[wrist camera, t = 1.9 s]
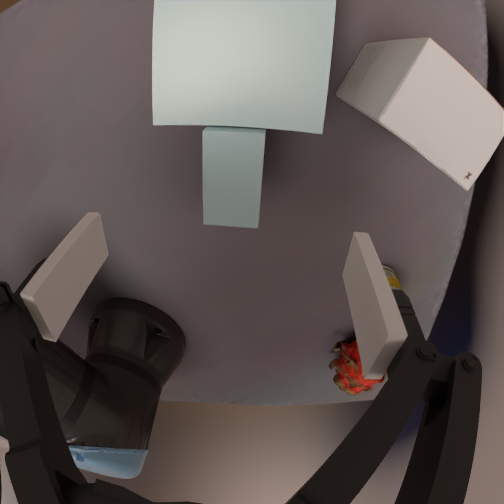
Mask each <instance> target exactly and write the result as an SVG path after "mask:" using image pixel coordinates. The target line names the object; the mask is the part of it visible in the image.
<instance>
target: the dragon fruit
mask: <svg viewBox="0 0 504 504" xmlns="http://www.w3.org/2000/svg"><path fill="white" fill-rule="evenodd" d="M355 335H356V334H354V336H353V338H354V337H356V336H355ZM333 351H339V352H340V356H341V359H335V360H333V361H331V363H330V364H329V368H330V369H332V367H333V368H335V369H336V370H335V371H336V373H337V372H338V373H337V374H336V375H335V376H334V378H333V380H334V382H335V384H336V385H338V386H339V389H341V390H343V391H346V392H347V393H348V394H349V395H353V394H354V395H357V394H359V393H360V392H361V391H366V392H367V391H372V386H373V385H374V384H376V383H381V382H383V381H384V379H385V378H386V374H387V371H386V372H385V374H384V375H383V377H382V378H381V379H364V376H363V371H362V365H361V360H360V355H359V349H358V344H357V339H356V340H355V341H353V342H352V343H351V344H348V343H347V342H344V341H343V342H338V343H337V344H336V345H335V347H334V348H333Z"/></svg>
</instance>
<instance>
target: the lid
mask: <svg viewBox="0 0 504 504" xmlns="http://www.w3.org/2000/svg"><path fill="white" fill-rule="evenodd" d="M335 9H336V0H154V17H153V46H152V103H153V125H207V126H206V128H205V129H204V130H203V224H204V225H218V226H232V227H245V228H258V224H259V211H260V198H261V185H262V172H263V159H264V146H265V133H266V128H267V129H279V130H290V131H299V132H308V133H317V134H322V132H323V125H324V117H325V109H326V101H327V92H328V83H329V74H330V65H331V55H332V45H333V34H334V22H335Z"/></svg>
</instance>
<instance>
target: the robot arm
mask: <svg viewBox="0 0 504 504" xmlns="http://www.w3.org/2000/svg"><path fill="white" fill-rule="evenodd" d="M108 255H109V253H108V249H107V244H106V240H105V235H104V231H103V226H102V221H101V216H100V213H99V212H88V213H87V214H86V215H85V216H84V217H83V218H82V219H81V220H80V221H79V223H78V224H77V225H76V226H75V227H74V228H73V229H72V230H71V231H70V233H69V234H68V235H67V236H66V237H65V238H64V239H63V241H62V242H61V243H60V244H59V245H58V246H57V248H56V249H55V250H54V251H53V252H52V254H51V255H50V256H49V257H48V258H45V259H43V260H42V261H41V262H39V263H38V264H37V265H36V266H35V267H34V269H33V270H32V271H31V273H30V274H29V275H28V276H27V278H26V279H25V280H24V281H23V283H22V284H21V285H20V286H19V288H18V289H17V290H16V292H15V293H14V294H13V293H12V291H11V289H10V286H9V284H8V283H7V282H2V281H1V282H0V465H1V463H2V462H3V459H4V458H5V462H6V466H7V469H8V473H9V476H10V479H11V483H12V486H13V489H14V492H15V495H16V498H17V501H18V504H200V503H193V502H160V503H158V502H157V503H155V502H152V501H149V500H147V499H145V498H143V497H141V496H139V495H137V494H136V493H134V492H132V491H130V490H128V489H126V488H125V487H122V486H118V485H115V484H111V483H108V482H105V481H102V480H99V479H96V482H95V483H87V481H86V479H85V477H84V476H83V475H82V473H81V472H80V471H79V469H78V468H81V469H84V470H87V471H91V472H94V473H98V474H102V475H106V476H111V477H117V478H134V477H136V476H137V475H138V474H139V473H140V472H141V470H142V466H143V463H144V460H145V457H146V454H148V445H149V441H150V436H151V431H152V427H153V423H154V419H155V415H156V410H157V406H158V402H159V398H160V394H161V391H162V388H163V386H164V385H165V383H166V382H167V381H168V379H169V378H170V376H171V375H172V374H173V372H174V371H175V369H176V368H177V367H178V365H179V364H180V362H181V360H182V357H183V353H184V349H185V339H184V336H183V333H182V332H181V330H180V328H179V327H178V326H177V325H176V323H175V322H174V321H173V320H172V319H170V318H169V317H168V316H167V315H165V314H164V313H163V312H161V311H159V310H158V309H156V308H154V307H152V306H150V305H148V304H145V303H142V302H139V301H136V300H131V299H111V300H107V301H105V302H103V303H101V304H100V305H99V306H98V307H97V309H96V310H95V312H94V314H93V316H92V318H91V321H90V324H89V333H88V343H87V355H86V358H85V360H84V359H82V358H81V357H80V356H79V355H77V354H76V353H75V352H74V351H73V350H71V349H70V348H69V347H68V346H66V345H65V344H64V343H63V342H62V341H61V340H59V339H58V338H59V336H60V334H61V332H62V330H63V329H64V327H65V325H66V323H67V322H68V320H69V318H70V316H71V315H72V313H73V311H74V309H75V308H76V306H77V304H78V303H79V301H80V299H81V298H82V296H83V294H84V293H85V291H86V290H87V288H88V286H89V285H90V283H91V282H92V280H93V278H94V277H95V275H96V274H97V272H98V271H99V269H100V267H101V266H102V264H103V263H104V261H105V260H106V258H107V257H108ZM342 277H343V281H344V285H345V289H346V293H347V298H348V302H349V307H350V311H351V316H352V320H353V325H354V330H355V334H356V339H357V344H358V349H359V355H360V360H361V365H362V371H363V376H364V379H381V378H382V377H383V375H384V374H385V372H386V371H387V375H388V380H387V382H386V383H385V385H384V386H383V388H382V389H381V390H380V392H379V394H378V395H377V396H376V398H375V399H374V401H373V402H372V404H371V405H370V406H369V408H368V409H367V410H366V412H365V413H364V415H363V416H362V417H361V419H360V420H359V421H358V422H357V424H356V425H355V426H354V428H353V429H352V430H351V432H350V433H349V434H348V435H347V436H346V438H345V439H344V440H343V441H342V443H341V444H340V445H339V446H338V447H337V449H336V450H335V451H334V452H333V453H332V454H331V456H330V457H329V458H328V459H327V460H326V462H325V463H324V464H323V465H322V466H321V467H320V468H319V469H318V470H317V471H316V473H315V474H314V475H313V476H312V477H311V478H310V479H309V480H308V481H307V482H306V483H305V484H304V485H303V486H302V487H301V488H300V489H299V490H298V491H297V492H296V493H295V495H293V497H292V498H291V499H289V500H288V501H287V503H286V504H350V503H351V502H352V500H353V499H354V498H355V497H356V495H357V494H358V493H359V492H360V490H361V489H362V488H363V486H364V485H365V484H366V482H367V481H368V480H369V478H370V477H371V476H372V474H373V473H374V472H375V470H376V469H377V467H378V466H379V464H380V463H381V462H382V460H383V459H384V457H385V456H386V454H387V453H388V451H389V450H390V448H391V447H392V445H393V444H394V442H395V440H396V439H397V437H398V436H399V434H400V432H401V431H402V429H403V427H404V426H405V424H406V422H407V420H408V419H409V417H410V416H411V414H412V412H413V410H414V408H415V406H416V405H417V403H418V401H419V400H421V401H425V405H424V410H423V414H422V418H421V422H420V426H419V430H418V434H417V438H416V441H415V445H414V448H413V451H412V455H411V458H410V461H409V465H408V468H407V471H406V474H405V477H404V480H403V482H402V485H401V488H400V491H399V493H398V496H397V499H396V501H395V504H463V503H464V499H465V495H466V491H467V486H468V483H469V478H470V473H471V468H472V462H473V457H474V451H475V445H476V438H477V430H478V421H479V412H480V399H481V381H482V366H481V363H480V361H479V359H478V358H477V357H476V356H475V355H474V354H472V353H470V352H466V351H464V352H460V353H459V354H458V355H457V356H456V358H451V357H448V356H444V355H441V354H439V353H438V350H437V349H436V347H435V346H434V345H433V344H431V343H430V342H428V341H425V338H424V335H423V333H422V330H421V327H420V325H419V322H418V319H417V317H416V316H415V312H414V309H413V308H412V304H411V302H410V299H409V298H408V296H407V295H406V294H405V293H404V292H403V291H402V290H396V289H391V287H390V285H389V282H388V280H387V277H386V275H385V272H384V270H383V267H382V265H381V262H380V260H379V257H378V255H377V253H376V250H375V248H374V245H373V243H372V241H371V239H370V236H369V234H368V233H363V232H354V233H353V237H352V241H351V245H350V248H349V252H348V256H347V259H346V263H345V266H344V270H343V273H342ZM8 450H9V451H8ZM77 467H78V468H77ZM1 489H2V488H1V471H0V504H1Z"/></svg>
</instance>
